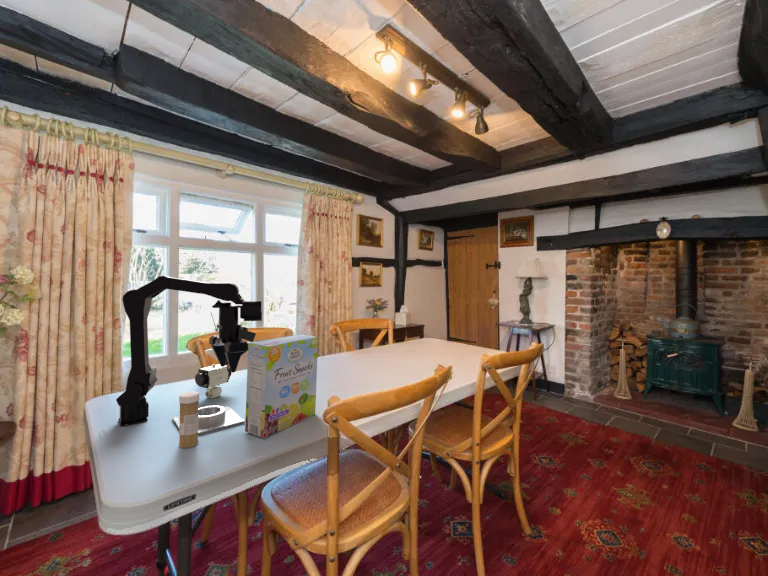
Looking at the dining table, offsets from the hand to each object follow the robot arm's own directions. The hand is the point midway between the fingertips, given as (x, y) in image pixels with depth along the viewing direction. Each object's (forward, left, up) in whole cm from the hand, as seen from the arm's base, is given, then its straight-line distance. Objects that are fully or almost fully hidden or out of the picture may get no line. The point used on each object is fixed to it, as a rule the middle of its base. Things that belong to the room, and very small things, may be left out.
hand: (228, 369), depth 113 cm
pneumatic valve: (+1, +17, -14) cm, 22 cm away
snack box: (+10, -20, -14) cm, 26 cm away
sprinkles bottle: (-15, -17, -14) cm, 27 cm away
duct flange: (-7, -5, -14) cm, 16 cm away
